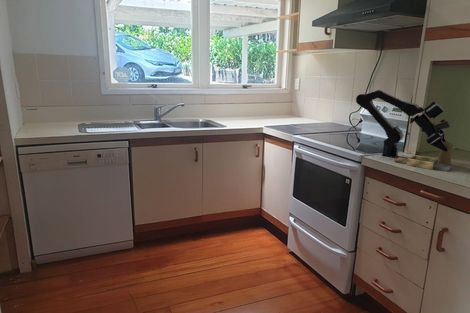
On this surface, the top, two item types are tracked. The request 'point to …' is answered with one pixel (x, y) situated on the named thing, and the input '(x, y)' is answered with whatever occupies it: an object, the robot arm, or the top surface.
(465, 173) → the top surface
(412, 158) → the wooden tray
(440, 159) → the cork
